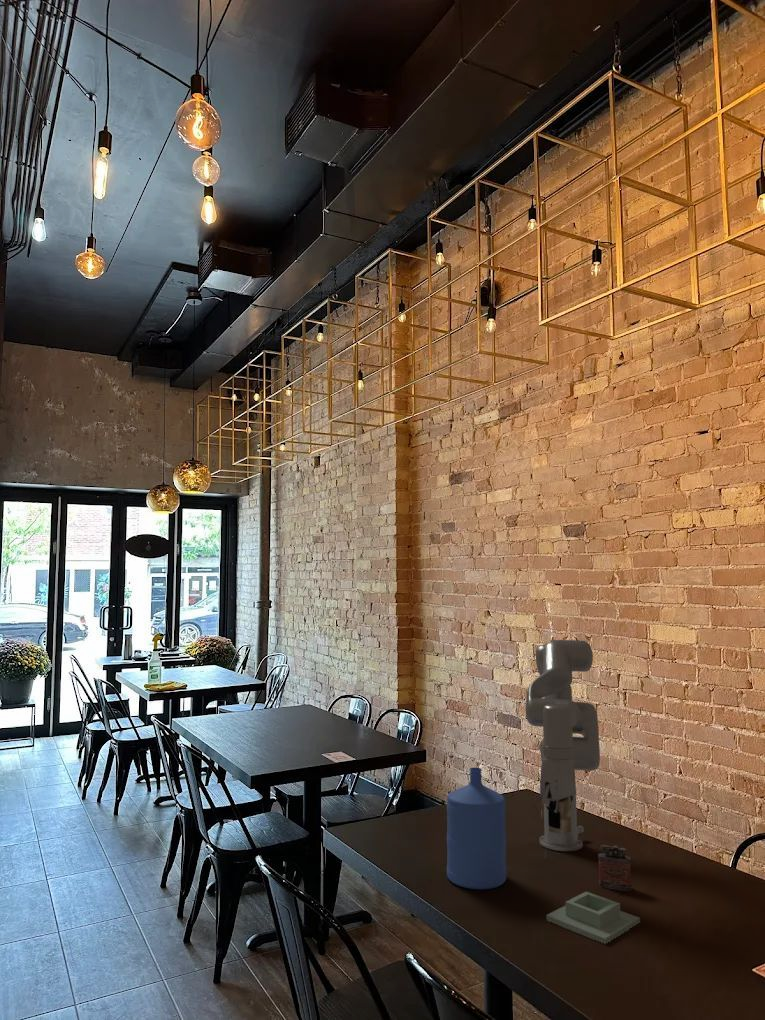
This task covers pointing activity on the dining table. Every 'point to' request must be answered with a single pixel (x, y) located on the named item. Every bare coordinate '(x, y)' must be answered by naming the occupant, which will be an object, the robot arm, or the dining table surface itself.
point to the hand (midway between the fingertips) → (559, 824)
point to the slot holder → (593, 917)
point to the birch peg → (563, 817)
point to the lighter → (614, 868)
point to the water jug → (476, 835)
